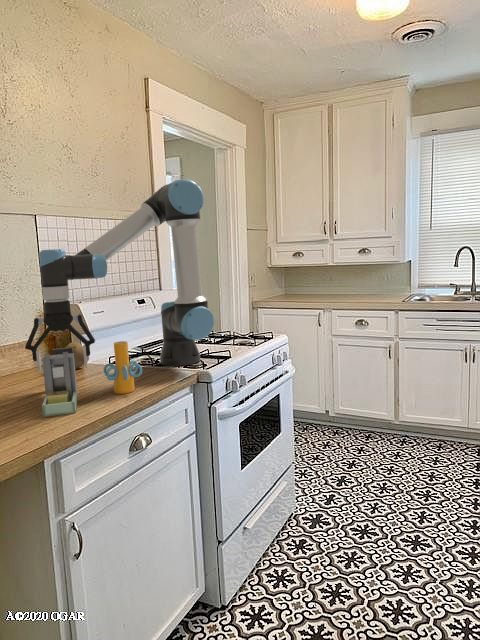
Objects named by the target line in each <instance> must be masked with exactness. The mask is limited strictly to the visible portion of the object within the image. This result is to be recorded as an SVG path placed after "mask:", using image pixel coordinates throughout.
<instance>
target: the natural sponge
mask: <svg viewBox="0 0 480 640" xmlns="http://www.w3.org/2000/svg"><path fill="white" fill-rule="evenodd" d="M71 347H72V348H73V353H74V362H75V370H79V369H81V368H82V366H85V363H84V352H83V345H82V344H81V343H79V342H76V341H72V342H70V343H68V344H67V345H66V346H65V347H64V348H71ZM89 361H90V356H87V363H88V362H89Z"/></svg>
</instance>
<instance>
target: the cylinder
mask: <svg viewBox="0 0 480 640" xmlns="http://www.w3.org/2000/svg"><path fill="white" fill-rule="evenodd" d="M113 350H114V362H115V364H114V363H107V364H105V365H104V367H103V373H104V375H105V376H106V378H107V380H108V381H113V390H114V394H118V395H125V394H130V393H133V392H135V390H136V389H135V378H138V377H140V376H142V374H143V368H142V366H141V365H140V364H139V363H138V362H137V361H136V360H130V357H129V344H128V341H126V340H123V341H122V340H120V341H116V342H115V341H114V342H113ZM133 367H134V370H133V371H132V368H133ZM112 369H114V372H113V374H111V373H110V371H112ZM138 369H139V373H137V372H138ZM136 373H137V374H136Z"/></svg>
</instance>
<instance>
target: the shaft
mask: <svg viewBox="0 0 480 640" xmlns="http://www.w3.org/2000/svg"><path fill="white" fill-rule="evenodd" d="M63 352H68V354H70V353H73V348H72V347H71V348H65V347H62V348H52V349H51V353H52V355H60V354H63ZM52 369H53V378H57V377H64V376H65V371H64V364H54V365H53V368H52Z"/></svg>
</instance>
